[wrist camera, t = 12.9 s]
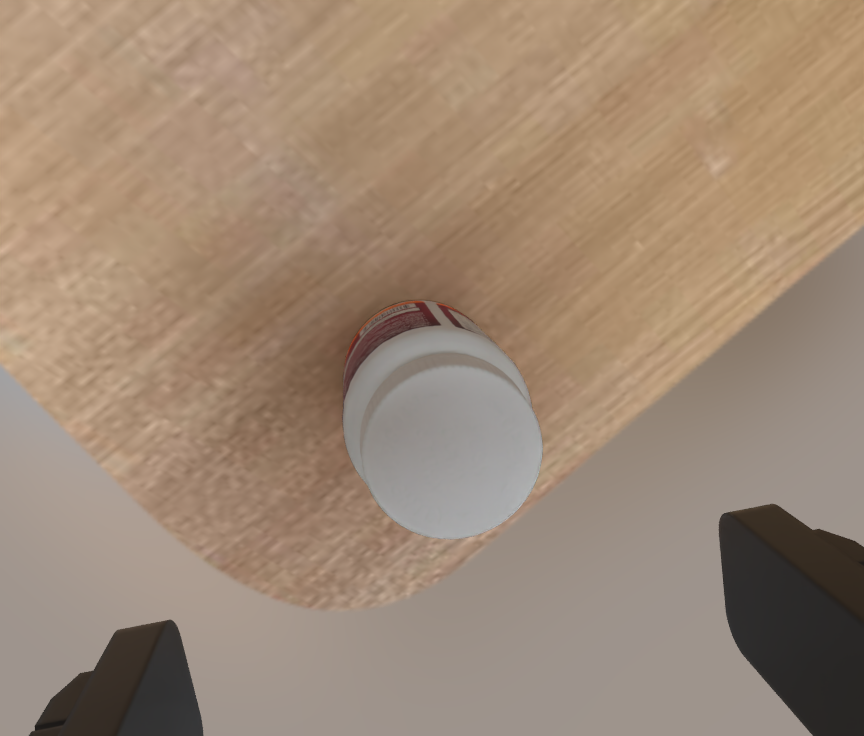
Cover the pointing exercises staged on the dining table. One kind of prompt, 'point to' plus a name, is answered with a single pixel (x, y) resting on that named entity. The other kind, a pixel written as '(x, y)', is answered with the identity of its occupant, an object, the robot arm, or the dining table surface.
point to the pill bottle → (438, 421)
